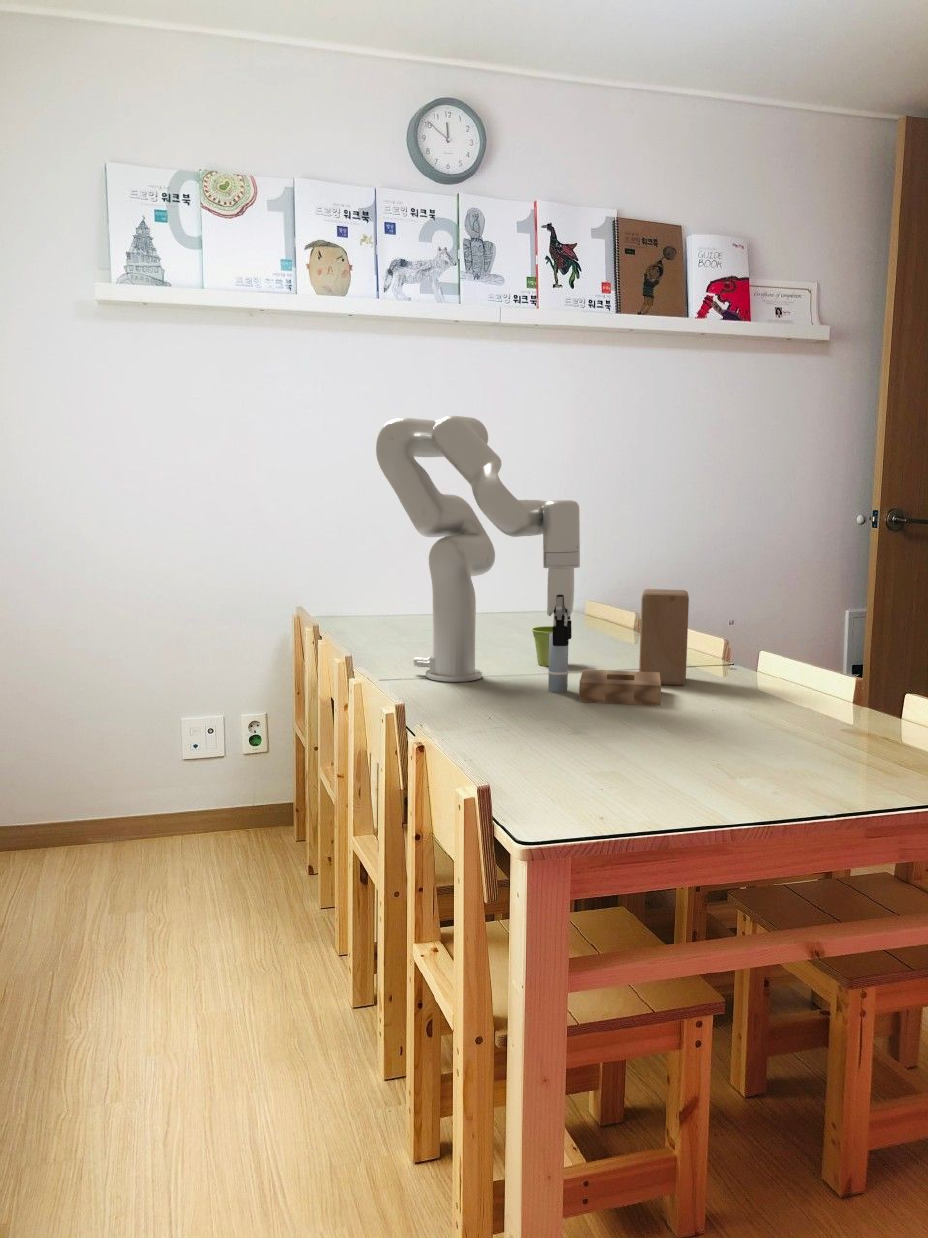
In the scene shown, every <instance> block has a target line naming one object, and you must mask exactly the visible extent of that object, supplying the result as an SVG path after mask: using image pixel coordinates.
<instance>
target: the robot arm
mask: <svg viewBox="0 0 928 1238" xmlns="http://www.w3.org/2000/svg"><path fill="white" fill-rule="evenodd" d="M488 442H489V435H488V430H487V428H486V426H485V425H484V424H483V422H481V421H480V420H479V419H477V418H474V417H468V416H460V415H448V416H447V415H446V416H444V417H442V418H440V419H424V418H411V417H399V418H394V419H391V420H389V421H387V422H386V423H385V424H384V425H383V426H381V429H380V431H379V432H378V435H377V438H376V443H375V445H376V446H375V454H376V460H377V462H378V465H379V468H380V470H381V472H382V473H383V476H384V477H385V479H386V480H387V482H388V483H389V484H390V486H391V488H392V489H393V492H395V494H396V495H397V499H399V501H400V503H401V506H402V507H403V509H404V511H405V512H406V514H407V516H408V517H409V519H410V521H411V523H412V525H413V526H414V529H415V530H416V531H417V532H418V533H419V534H420V535H421V536H423V537H427V538H439V539H438V540H436V542H434V544H433V545H432V546H431V548H430V551H429V554H428V567H429V572H430V573H429V574H430V578H431V586H432V587H431V590H432V655H431V656H428V657H427V658H424V657H414V659H413V665H414V667H417V668H427V670H426V671H425V678H427V679H429V680H433V681H438V682H446V683H447V682H449V683H450V682H451V683H460V682H470V681H471V682H473V681H476V680H480V679H482V677H483V671H481V670H480V669H478V668H476V621H477V620H476V618H477V617H476V609H477V608H476V603H477V602H476V599H477V598H476V591H475V587H474V583H473V581H472V577H478V576H481V575H484V574H486V573H488V572H490V570H491V569H492V568H493V566H494V564H495V560H496V551H495V548H494V545H493V542H492V540H491V538H490V536H489V535H488V533H487V531H486V530H485V527H484V526H483V525H482V523H481V521H480V519H479V517H478V516H477V515H476V513H475V510H474V509H473V508H472V506H471V505H470V504H469V503H468V502H467V501H466V500H465V499H464V498H463V497H461V496H459V495H455V494H451V493H450V494H449V493H448V494H443V493H442V492H440V490H439V489H438V487H437V486H436V485H435V483H434V482H433V480H432V478H431V476H430V474H429V473H428V471H426V470H425V467H423V466H422V465H421V464H420V463H419V462H418V461H417V460H416V459H415V458H445V459H446V460H447V461H448V462H449V463H450V464H451V465H452V466H453V467H454V468H455V469H456V471H457V472H458V473H459V474H460V475H461V476H462V477H463V478H464V479H465V480H466V481H467V483H468V484H469V485H470V487H471V491H472V495H473V497H474V500H475V502H476V504H477V506H478V508H479V510H480V511H481V513H482V514H483V515H484V516H485V517H486V518H487V519H488V520H489V521H490V522H491V523H492V524H493V525H494V527H496V528H497V529H498V531H500V532H501V533H503V534H505V535H506V536H509V537H512V538H513V537H514V538H517V537H531V536H541V535H542V546H543V547H542V550H543V555H542V557H543V560H542V561H543V563H542V564H543V567H542V568H544V569H548V571H547V599H546V600H547V602H546V603H547V605H546V606H547V607H546V615H547V616H548V617H552V615H553V621H552V623H553V624H552V626H553V646H568V647H569V640H571V639H572V637H573V636H572V620H571V615H572V614H573V611H574V602H575V600H574V599H575V569H577V568H578V569H579V568H581V565H580V564H581V556H580V555H581V552H580V550H581V549H580V546H581V545H580V543H581V541H580V527H581V526H580V505H579V504H578V502H577V501H575V500H571V499H570V500H566V499H565V500H562V499H561V500H549V501H546V500H541V499H540V500H539V499H518V498H517V497H515V496H514V494H512V493H511V491H510V490H509V489H508V488H507V487H506V486H505V484H503V481H501V479H500V476H499V472H500V471H501V468H502V459H501V457H500V456H499V455H498V454H497V453H496V452H495V451H494V450H493V449H492V448H491V447H490V446H489V445H488Z"/></svg>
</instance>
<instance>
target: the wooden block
mask: <svg viewBox="0 0 928 1238" xmlns="http://www.w3.org/2000/svg"><path fill="white" fill-rule="evenodd" d="M640 600H641V602H640V603H641V604H640V606H641V607H640V630H639V631H640V633H639V634H640V635H639V637H640V638H639V660H638V661H639V665H638V666H639V668H638V669H639V670H638V672H659V673H660V680H661V686H684V685H685V683H686V681H687V680H686V679H687V660H688V659H687V657H688V635H689V633H688V629H689V627H688V626H689V608H690V607H689V605H690V597H689V593H688V590H685V589H664V588H663V589H662V588H661V589H658V588H656V589H655V588H647V589H644V590H643V592H642V594H641V599H640Z"/></svg>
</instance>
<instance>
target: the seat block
mask: <svg viewBox="0 0 928 1238" xmlns="http://www.w3.org/2000/svg"><path fill="white" fill-rule="evenodd" d="M580 675H581V676H580V679H579V688H578V689H579V691H578V692H579V695H578V702H579V703H593V704H595V703H596V704H622V705H640V706H642V705H643V706H661V704H662V703H661V699H662V698H661V697H662V696H661V695H662V685H661V680H660V673H659V672H639V671H636V670H633V671H631V670H610V669H609V670H608V669H606V670H604V669H603V670H602V669H582V673H581V674H580Z"/></svg>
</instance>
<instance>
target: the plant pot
mask: <svg viewBox="0 0 928 1238" xmlns="http://www.w3.org/2000/svg"><path fill="white" fill-rule="evenodd" d="M530 630H531V632H532V635H533V637H534V644H535V650H536V658H537V659H536V660H537V664H538V666H543V667H549V634H551V633H553V625H552V626H551V625H550V626H549V625H548V626H547V625H546V626H536V627H535V626H534V627H532V628H531V629H530Z"/></svg>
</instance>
